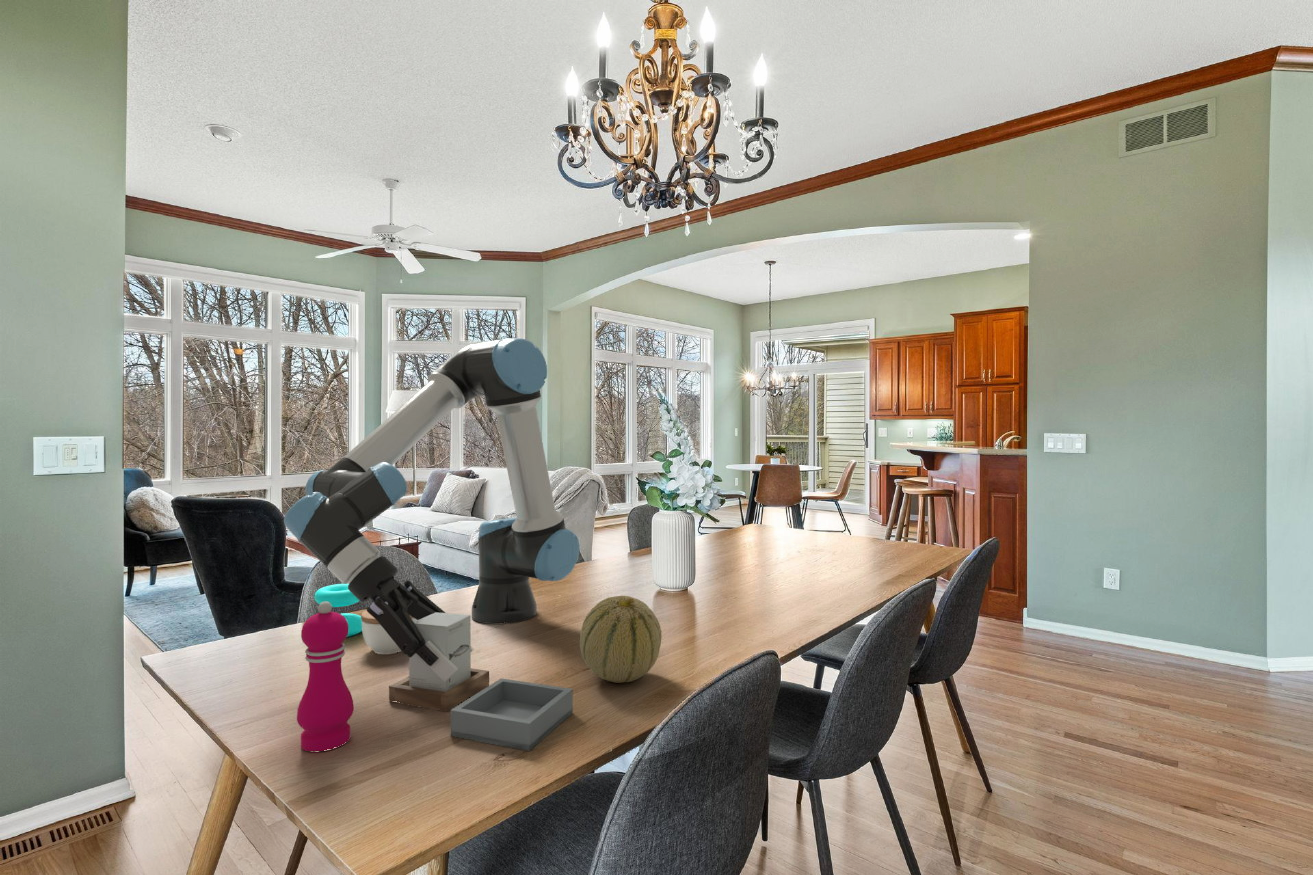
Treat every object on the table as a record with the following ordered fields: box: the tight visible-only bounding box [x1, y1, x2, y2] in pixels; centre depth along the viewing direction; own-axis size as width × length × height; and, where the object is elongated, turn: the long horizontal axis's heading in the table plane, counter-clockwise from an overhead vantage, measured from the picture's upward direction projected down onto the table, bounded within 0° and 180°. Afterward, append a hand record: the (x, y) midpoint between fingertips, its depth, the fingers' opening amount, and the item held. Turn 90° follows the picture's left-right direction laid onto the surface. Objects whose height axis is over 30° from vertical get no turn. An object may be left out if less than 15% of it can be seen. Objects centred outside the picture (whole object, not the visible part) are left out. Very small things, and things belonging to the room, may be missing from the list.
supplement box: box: [408, 612, 472, 692], centre depth 111 cm, size 7×7×13 cm
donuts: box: [314, 583, 362, 638], centre depth 144 cm, size 10×10×10 cm
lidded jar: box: [360, 609, 417, 655], centre depth 134 cm, size 11×11×9 cm
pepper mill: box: [296, 602, 355, 752], centre depth 94 cm, size 7×7×20 cm
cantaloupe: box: [579, 595, 662, 684], centre depth 117 cm, size 15×15×15 cm
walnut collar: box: [388, 667, 490, 713], centre depth 111 cm, size 11×11×2 cm
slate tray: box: [450, 677, 574, 752], centre depth 100 cm, size 13×13×4 cm
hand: (459, 664), depth 111 cm, fingers closed on supplement box, 9 cm apart
